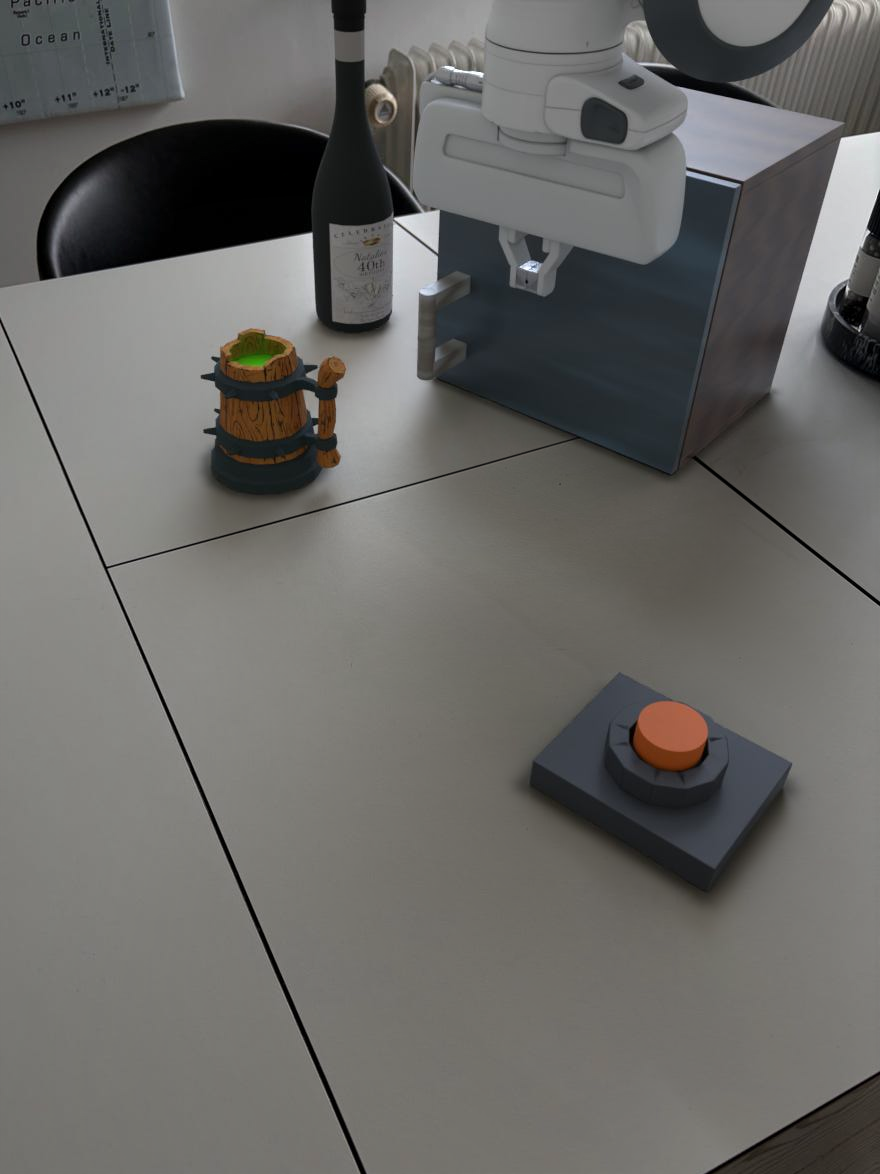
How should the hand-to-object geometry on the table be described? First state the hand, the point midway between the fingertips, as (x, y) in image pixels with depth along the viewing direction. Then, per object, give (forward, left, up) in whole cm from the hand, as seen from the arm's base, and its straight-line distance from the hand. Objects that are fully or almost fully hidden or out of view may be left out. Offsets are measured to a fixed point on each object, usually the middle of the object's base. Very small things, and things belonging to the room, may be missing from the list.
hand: (531, 289), depth 78 cm
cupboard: (+3, -19, -16) cm, 25 cm away
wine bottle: (+30, -13, -17) cm, 36 cm away
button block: (-26, +22, -16) cm, 38 cm away
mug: (+16, +12, -17) cm, 26 cm away
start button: (-26, +22, -13) cm, 37 cm away
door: (+3, -6, -16) cm, 17 cm away
